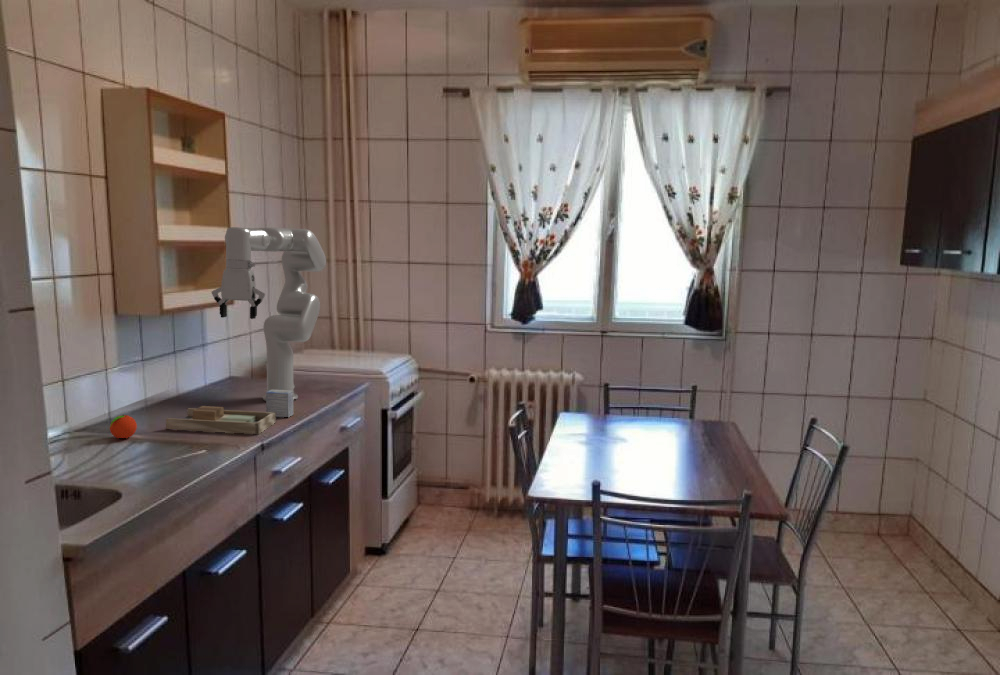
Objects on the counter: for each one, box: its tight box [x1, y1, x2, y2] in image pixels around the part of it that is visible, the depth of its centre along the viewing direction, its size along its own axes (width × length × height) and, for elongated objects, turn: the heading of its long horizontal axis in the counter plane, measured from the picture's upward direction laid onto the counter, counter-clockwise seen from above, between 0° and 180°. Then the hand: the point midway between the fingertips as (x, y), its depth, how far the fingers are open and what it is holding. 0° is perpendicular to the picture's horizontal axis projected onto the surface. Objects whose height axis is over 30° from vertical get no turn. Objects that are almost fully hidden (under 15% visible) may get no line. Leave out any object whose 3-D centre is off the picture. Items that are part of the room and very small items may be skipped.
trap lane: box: [165, 407, 277, 436], centre depth 213 cm, size 14×29×4 cm, turn 87°
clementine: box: [109, 414, 138, 439], centre depth 196 cm, size 8×7×7 cm
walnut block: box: [193, 405, 225, 421], centre depth 213 cm, size 6×7×3 cm
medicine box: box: [265, 390, 294, 419], centre depth 228 cm, size 8×4×9 cm, turn 84°
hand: (238, 317), depth 221 cm, fingers open, 9 cm apart
